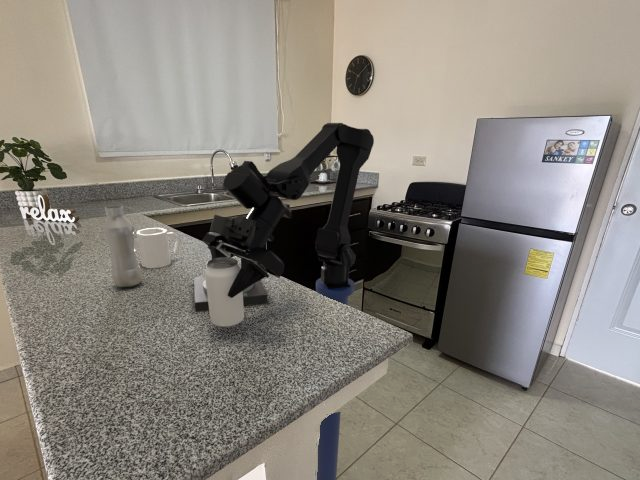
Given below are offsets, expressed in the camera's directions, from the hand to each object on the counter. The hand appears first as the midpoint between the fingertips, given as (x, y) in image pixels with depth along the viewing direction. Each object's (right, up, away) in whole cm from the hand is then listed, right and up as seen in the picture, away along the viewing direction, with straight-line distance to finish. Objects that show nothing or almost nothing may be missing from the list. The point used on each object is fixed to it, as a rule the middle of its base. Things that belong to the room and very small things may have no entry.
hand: (218, 291), depth 65 cm
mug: (-28, +7, +40) cm, 50 cm away
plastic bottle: (-30, +1, +24) cm, 38 cm away
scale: (-3, -1, +21) cm, 21 cm away
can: (+1, -6, +4) cm, 7 cm away
